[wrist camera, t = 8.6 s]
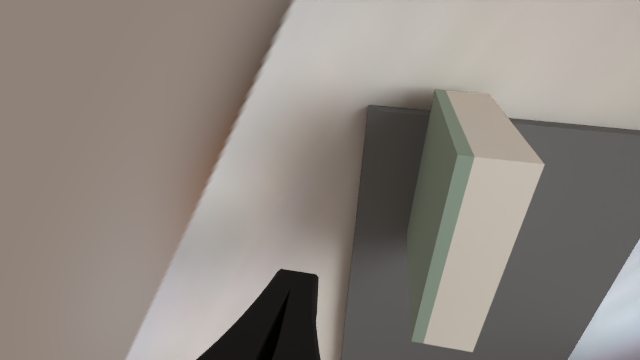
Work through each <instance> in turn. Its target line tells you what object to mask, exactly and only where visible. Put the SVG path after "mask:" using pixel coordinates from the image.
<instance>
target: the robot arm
mask: <svg viewBox="0 0 640 360" xmlns="http://www.w3.org/2000/svg"><path fill="white" fill-rule="evenodd" d="M318 278H319V277H318V276H317V275H316V274H310V273H303V272H297V271H291V270H284V269H280V270H279V271H278V272H277V273H276V275H275V276H274V278H273V279H272V280H271V282H270V283H269V284H268V286H267V287H266V288H265V289H264V291H263V292H262V293H261V294H260V296H259V297H258V298H257V299H256V300H255V301H254V303H253V304H252V305H251V306H250V307H249V308H248V310H247V311H246V312H245V313H244V314H243V315H242V316H241V317H240V318H239V319H238V320H237V321H236V323H235V324H234V325H233V326H232V327H231V328H230V329H229V330H228V331H227V332H226V333H225V334H224V335H223V336H222V337H221V338H220V339H219V340H218V341H217V342H215V343H214V344H213V345H212V346H211V347H210V348H209V349H208V350H207V351H206V352H204V353H203V354H202V355H201V356H200V357H199V358H198V359H196V360H320V354H319V347H318V339H317V330H316V315H317V298H318Z"/></svg>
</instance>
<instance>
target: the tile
mask: <svg viewBox="0 0 640 360" xmlns="http://www.w3.org/2000/svg"><path fill="white" fill-rule="evenodd" d="M544 165H545V164H544V163H543V162H542V160H541V159H540V158H539V156H538V155H537V154H536V153H535V151H534V150H533V149H532V148H531V146H530V145H529V144H528V143H527V141H526V140H525V139H524V137H523V136H522V135H521V134H520V132H519V131H518V130H517V129H516V127H515V126H514V125H513V124H512V122H511V121H510V120H509V118H508V117H507V116H506V115H505V113H504V112H503V111H502V110H501V108H500V107H499V106H498V104H497V103H496V102H495V101H494V99H493V98H492V97H491V96H490V94H483V93H472V92H460V91H448V90H436V89H435V92H434V97H433V102H432V107H431V112H430V117H429V122H428V128H427V133H426V138H425V143H424V148H423V153H422V158H421V163H420V169H419V174H418V179H417V184H416V189H415V194H414V199H413V204H412V209H411V215H410V220H409V225H408V230H407V252H408V275H409V299H410V322H411V341H412V342H418V343H423V344H429V345H435V346H440V347H446V348H452V349H457V350H463V351H468V352H473V350H474V348H475V345H476V342H477V340H478V337H479V334H480V332H481V329H482V327H483V324H484V321H485V319H486V316H487V314H488V311H489V308H490V306H491V303H492V301H493V298H494V295H495V293H496V290H497V288H498V285H499V282H500V280H501V277H502V275H503V272H504V269H505V267H506V264H507V261H508V259H509V256H510V254H511V251H512V248H513V246H514V243H515V241H516V238H517V235H518V233H519V230H520V228H521V225H522V222H523V220H524V217H525V215H526V212H527V209H528V207H529V204H530V202H531V199H532V196H533V194H534V191H535V189H536V186H537V183H538V181H539V178H540V175H541V173H542V170H543V168H544Z"/></svg>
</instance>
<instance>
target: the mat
mask: <svg viewBox="0 0 640 360" xmlns="http://www.w3.org/2000/svg"><path fill="white" fill-rule="evenodd" d="M430 112H431V111H426V110H415V109H405V108H394V107H384V106H373V105H369V107H368V114H367V123H366V133H365V142H364V151H363V160H362V169H361V179H360V188H359V197H358V206H357V216H356V225H355V234H354V243H353V252H352V262H351V271H350V280H349V289H348V299H347V308H346V317H345V326H344V336H343V345H342V354H341V360H567V359H568V358H569V356H570V354H571V353H572V351H573V349H574V348H575V346H576V344H577V343H578V341H579V339H580V338H581V336H582V334H583V333H584V331H585V329H586V328H587V326H588V324H589V322H590V321H591V319H592V317H593V316H594V314H595V312H596V311H597V309H598V307H599V306H600V304H601V302H602V301H603V299H604V297H605V296H606V294H607V292H608V291H609V289H610V287H611V286H612V284H613V282H614V281H615V279H616V277H617V276H618V274H619V272H620V270H621V269H622V267H623V265H624V264H625V262H626V260H627V259H628V257H629V255H630V254H631V252H632V250H633V249H634V247H635V245H636V244H637V242H638V240H639V239H640V131H639V130H628V129H618V128H607V127H596V126H586V125H575V124H564V123H554V122H543V121H532V120H522V119H511V118H509V120H510V121H511V122H512V124H513V125H514V126H515V127H516V129H517V130H518V131H519V132H520V134H521V135H522V136H523V137H524V139H525V140H526V141H527V143H528V144H529V145H530V146H531V148H532V149H533V150H534V151H535V153H536V154H537V155H538V156H539V158H540V159H541V160H542V162H543V163H544V164H545V165H544V168H543V170H542V173H541V175H540V178H539V181H538V183H537V186H536V189H535V191H534V194H533V196H532V199H531V202H530V204H529V207H528V209H527V212H526V215H525V217H524V220H523V222H522V225H521V228H520V230H519V233H518V235H517V238H516V241H515V243H514V246H513V248H512V251H511V254H510V256H509V259H508V261H507V264H506V267H505V269H504V272H503V275H502V277H501V280H500V282H499V285H498V288H497V290H496V293H495V295H494V298H493V301H492V303H491V306H490V308H489V311H488V314H487V316H486V319H485V321H484V324H483V327H482V329H481V332H480V334H479V337H478V340H477V342H476V345H475V348H474V350H473V352H468V351H463V350H457V349H452V348H446V347H440V346H435V345H429V344H423V343H418V342H412V341H411V322H410V299H409V275H408V252H407V230H408V225H409V220H410V215H411V209H412V204H413V199H414V194H415V189H416V184H417V179H418V174H419V169H420V163H421V158H422V153H423V148H424V143H425V138H426V133H427V128H428V122H429V117H430Z"/></svg>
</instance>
